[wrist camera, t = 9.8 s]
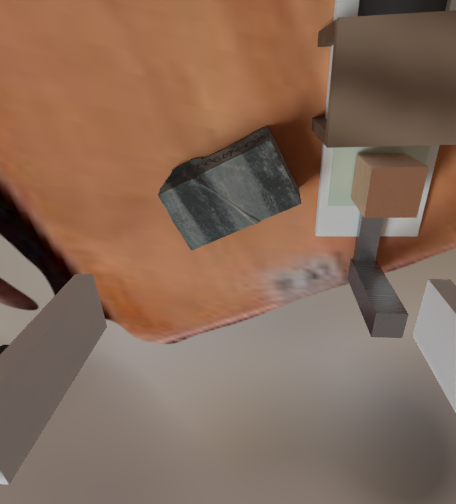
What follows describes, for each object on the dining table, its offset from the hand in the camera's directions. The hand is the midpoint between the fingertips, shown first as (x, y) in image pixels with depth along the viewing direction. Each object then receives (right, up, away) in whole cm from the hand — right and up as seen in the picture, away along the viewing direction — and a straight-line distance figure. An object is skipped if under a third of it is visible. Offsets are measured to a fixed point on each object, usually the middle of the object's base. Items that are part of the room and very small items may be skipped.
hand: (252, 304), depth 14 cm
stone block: (-1, +11, +28) cm, 30 cm away
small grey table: (+15, +20, +21) cm, 32 cm away
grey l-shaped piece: (+16, +6, +26) cm, 31 cm away
